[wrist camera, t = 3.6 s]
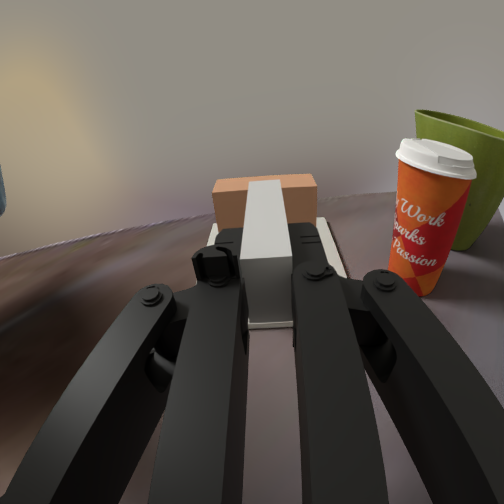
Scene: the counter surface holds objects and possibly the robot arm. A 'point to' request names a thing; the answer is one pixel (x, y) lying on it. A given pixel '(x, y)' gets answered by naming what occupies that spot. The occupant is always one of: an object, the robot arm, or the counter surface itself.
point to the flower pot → (485, 163)
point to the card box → (293, 190)
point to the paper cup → (428, 209)
